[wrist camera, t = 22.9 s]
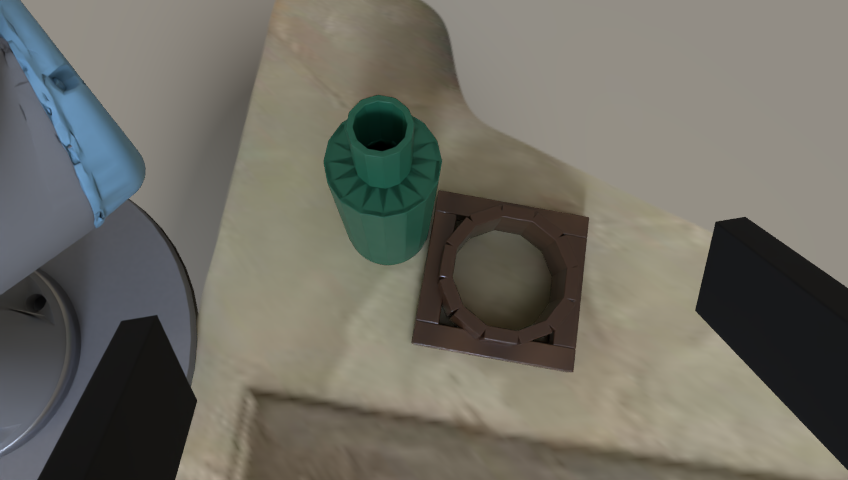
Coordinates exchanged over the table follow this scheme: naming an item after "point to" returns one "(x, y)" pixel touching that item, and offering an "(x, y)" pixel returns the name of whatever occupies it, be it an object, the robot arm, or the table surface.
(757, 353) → the robot arm
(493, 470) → the table surface
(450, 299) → the holder
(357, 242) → the bottle
